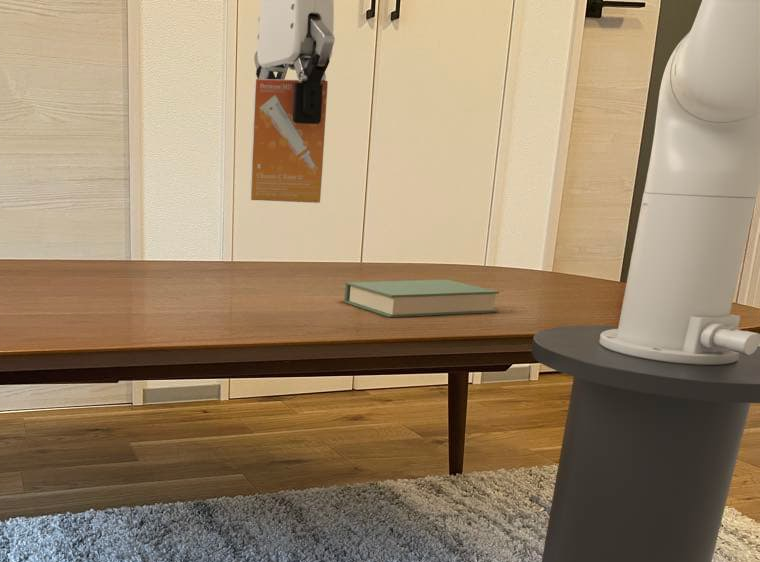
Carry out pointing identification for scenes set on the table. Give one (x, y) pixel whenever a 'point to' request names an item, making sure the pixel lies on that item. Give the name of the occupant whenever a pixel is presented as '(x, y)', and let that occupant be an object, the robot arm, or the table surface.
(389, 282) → the book
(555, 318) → the table surface
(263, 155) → the small box
